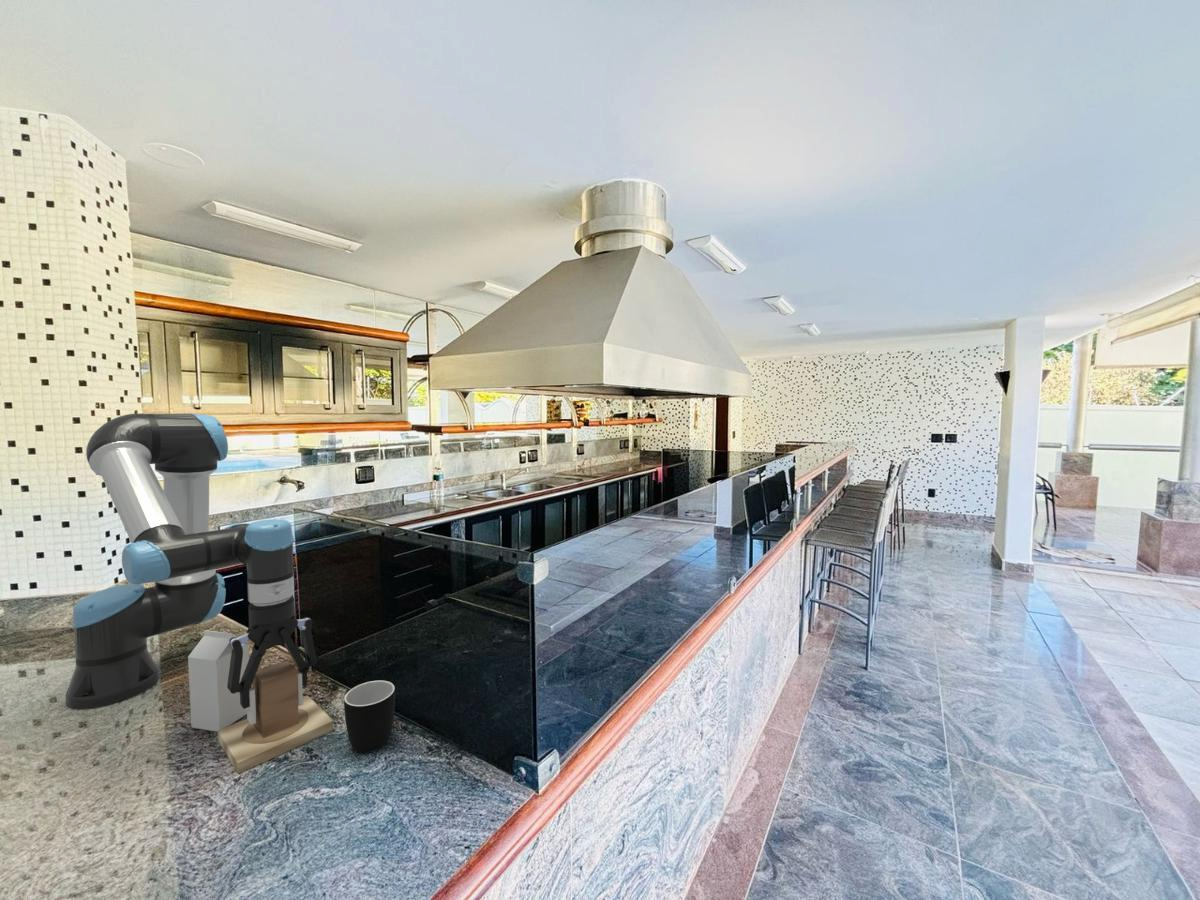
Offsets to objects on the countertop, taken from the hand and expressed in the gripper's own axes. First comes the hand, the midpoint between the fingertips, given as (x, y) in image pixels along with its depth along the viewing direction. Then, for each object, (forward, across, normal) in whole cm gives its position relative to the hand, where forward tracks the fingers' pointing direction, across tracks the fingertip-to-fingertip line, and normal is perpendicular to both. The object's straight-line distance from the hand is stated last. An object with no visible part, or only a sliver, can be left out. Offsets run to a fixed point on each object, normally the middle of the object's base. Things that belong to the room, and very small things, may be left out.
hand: (275, 711), depth 96 cm
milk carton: (+5, -6, +14) cm, 16 cm away
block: (+3, 0, 0) cm, 3 cm away
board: (+5, 0, 0) cm, 5 cm away
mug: (+5, +11, -15) cm, 19 cm away
